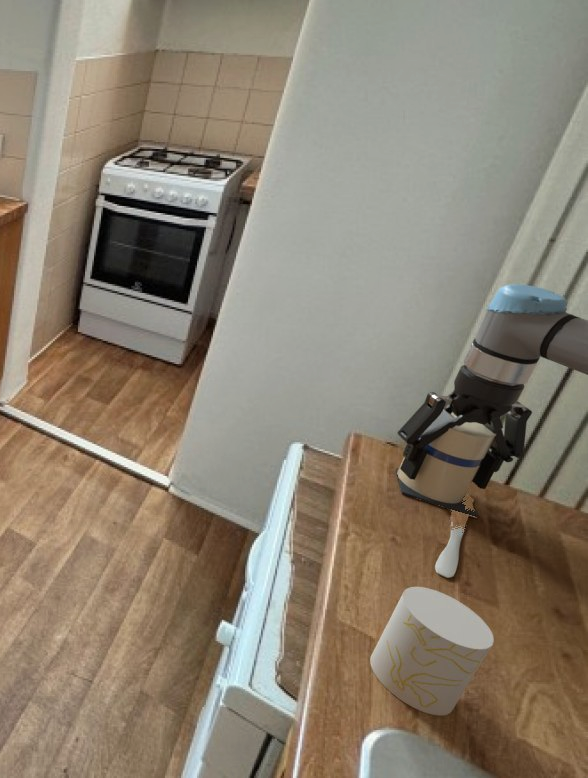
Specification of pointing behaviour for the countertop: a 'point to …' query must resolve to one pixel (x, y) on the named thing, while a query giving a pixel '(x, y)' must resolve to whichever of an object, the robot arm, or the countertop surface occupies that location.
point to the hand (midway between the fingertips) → (441, 478)
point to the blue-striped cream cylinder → (451, 463)
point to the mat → (453, 506)
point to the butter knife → (450, 554)
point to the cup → (430, 650)
